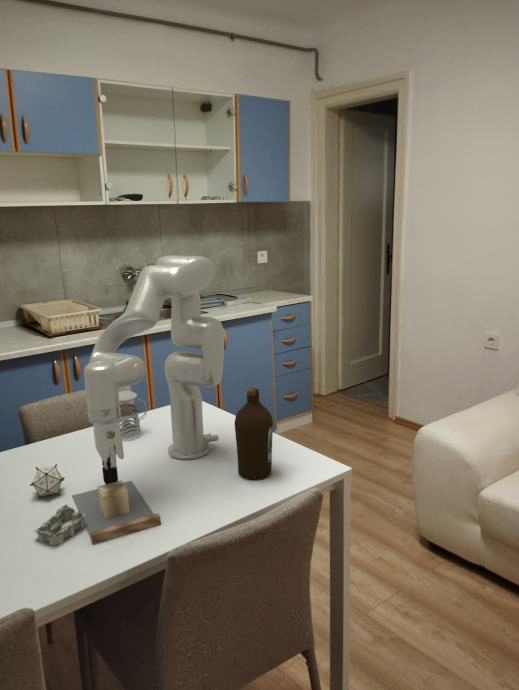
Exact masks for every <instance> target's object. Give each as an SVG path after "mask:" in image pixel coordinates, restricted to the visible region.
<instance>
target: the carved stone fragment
mask: <svg viewBox="0 0 519 690" xmlns="http://www.w3.org/2000/svg"><path fill="white" fill-rule="evenodd" d="M85 515H87V514H85V513H81V512H80V511H78V510H77V512H76V510H75V509H74V508H73V507H71V506H68V504H67V503H66V504H64V505H63V506H61V507H60V508H59V509H57V510H56V512H55V514H53V515H51V516H50V518H49V519H47V520H46V521H45V522H43V523H42V524H41V525H40V526H39V527H38V528H36V529H35V530H34V532H35V533H36V534H37V535H38V542H41V543H43V542H46V541H48V542H49V545H50V546H55V545H62V544H63V543H64V539H65V538H68V537H73V536H74V535H75V533H76V530H78V529H85V528H86V527H85V523H84V522H85V521H84V516H85ZM65 521H69V522H68V523H69V524H65V525H63V522H65Z"/></svg>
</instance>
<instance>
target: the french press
mask: <svg viewBox="0 0 519 690" xmlns="http://www.w3.org/2000/svg"><path fill="white" fill-rule="evenodd" d="M137 396H138V393H137V392H134V391H131V390H126V389H125V388H123V390H121V391H119V401H120V402H122V403H124V404H120V412H121V418H120V419H119V420H118V422H119V426H120V431H121V438H122V442H131V441H134V440H137V439H140V438H141V437H143V435H144V432H143V431H142V430H141V423H140V422H141V420H143V419H145V417H146V415H147V412H148V408H147V404H146V402H145V400H143V399H142V398H140V397H137ZM133 400H136V404H138V403H139V401H140V402H143V404H144V407H145V409H144V413H143V414H142V416H140V417H139V410H138V409H137V408H138V407H137V405H136V404H133V403H127V402H130V401H133Z"/></svg>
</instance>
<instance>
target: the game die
mask: <svg viewBox="0 0 519 690" xmlns="http://www.w3.org/2000/svg"><path fill="white" fill-rule="evenodd" d="M57 466H58V464H57V463H55V465H54V466H49V467H43V468H39V467H37V466H35V469H36V470H37V471H36V473H35V477H34V479H33V481H32V482H31V483H30V484H29V486H31V487H32V486H33V488H34V489H35V491H36V492H37V494H38V495H39V496H38V499H41V498H42V497H45V496H51V495H57V496H60V495H61V493H60V488H61V485H62V482H63V481H65V478H66V477H65V476H61V474H60V472H59V470H58V468H57Z"/></svg>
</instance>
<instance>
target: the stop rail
mask: <svg viewBox="0 0 519 690" xmlns="http://www.w3.org/2000/svg"><path fill="white" fill-rule="evenodd" d="M161 519H162V518H161V515H160V514H159V512H157V513H154V514H153V515H149V516H146V517H142V518H139V519H135V520H132V521H128V522H125V523H121V524H118V525H114V526H111V527H107V528H104V529H100V530H97V531H93V532H90V533H91V539H90V541H91V543H92V545H95V544H100V543H103V542H107V541H110V540H113V539H116V538H120V537H124V536H126V535H131V534H134V533H137V532H140V531H144V530H146V529H151V528H153V527H157V526H160V525H162V520H161Z"/></svg>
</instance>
